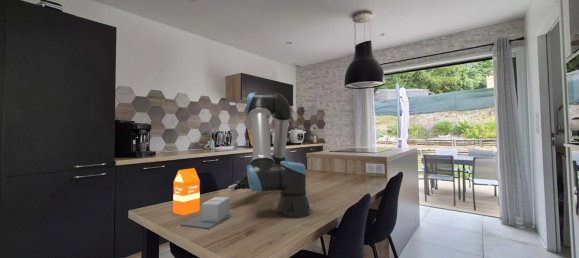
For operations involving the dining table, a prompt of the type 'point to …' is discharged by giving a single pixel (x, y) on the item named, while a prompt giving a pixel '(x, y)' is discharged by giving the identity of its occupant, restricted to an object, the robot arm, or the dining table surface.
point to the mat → (202, 223)
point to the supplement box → (215, 209)
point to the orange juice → (186, 192)
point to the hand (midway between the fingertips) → (229, 189)
